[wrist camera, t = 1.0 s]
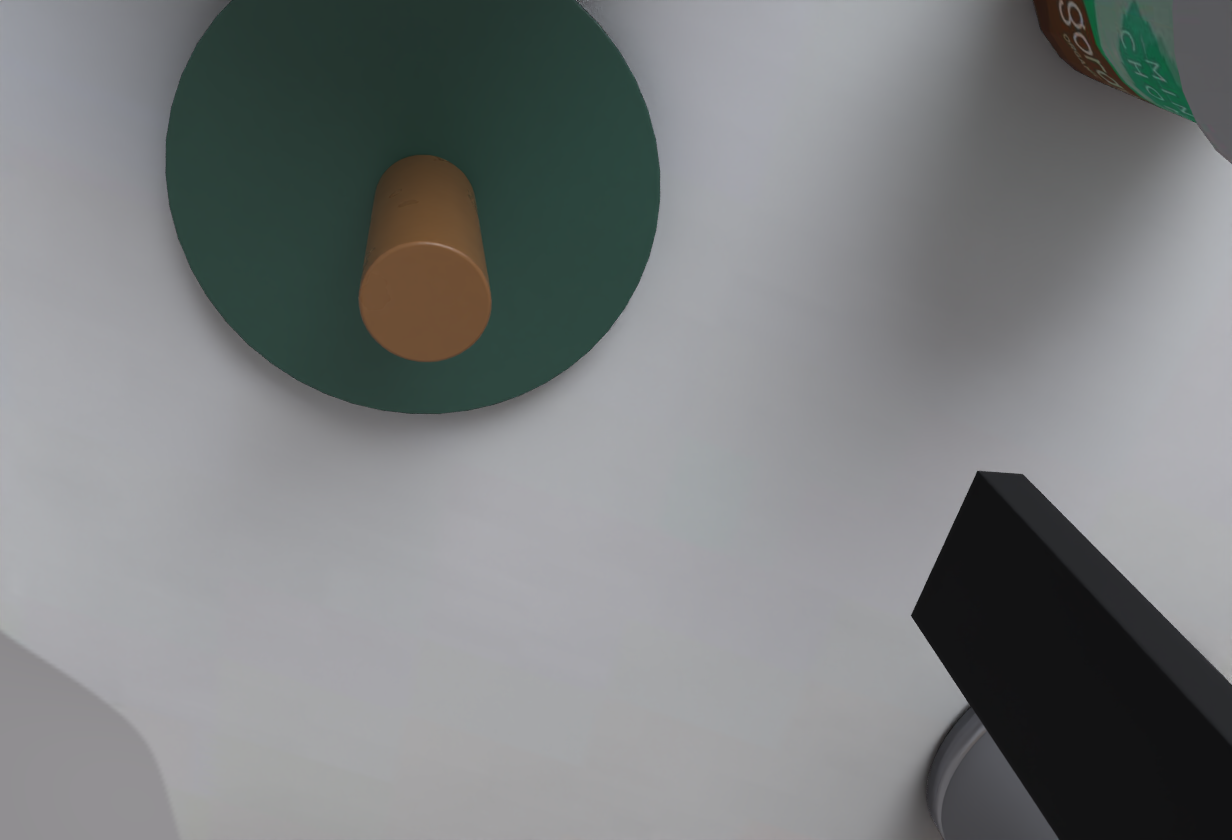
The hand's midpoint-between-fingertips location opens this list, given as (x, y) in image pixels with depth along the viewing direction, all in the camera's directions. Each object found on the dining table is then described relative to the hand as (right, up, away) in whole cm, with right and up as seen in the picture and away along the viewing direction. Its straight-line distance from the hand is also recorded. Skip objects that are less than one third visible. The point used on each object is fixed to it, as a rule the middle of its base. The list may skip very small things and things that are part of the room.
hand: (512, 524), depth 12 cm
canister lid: (-4, +8, +15) cm, 17 cm away
